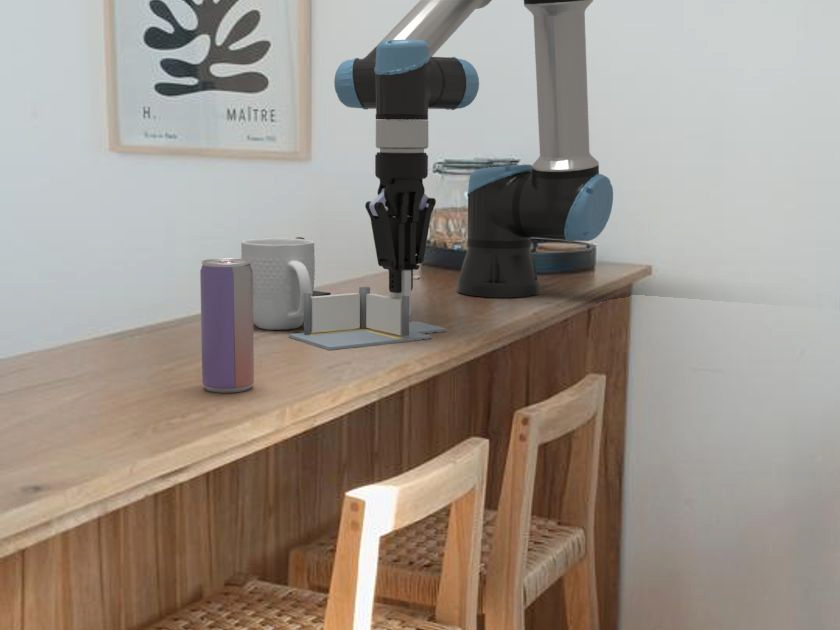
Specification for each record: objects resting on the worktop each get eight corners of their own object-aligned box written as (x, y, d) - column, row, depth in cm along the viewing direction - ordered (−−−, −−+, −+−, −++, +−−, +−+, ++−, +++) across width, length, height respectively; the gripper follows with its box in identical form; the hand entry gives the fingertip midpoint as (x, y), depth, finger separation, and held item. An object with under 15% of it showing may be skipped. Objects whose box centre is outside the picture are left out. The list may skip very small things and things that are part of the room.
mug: (340, 332, 179) (340, 245, 177) (273, 339, 173) (273, 248, 171) (293, 318, 191) (293, 236, 189) (229, 324, 185) (228, 239, 183)
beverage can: (209, 395, 138) (207, 264, 135) (197, 384, 143) (194, 259, 141) (260, 391, 140) (258, 262, 138) (246, 381, 145) (244, 257, 143)
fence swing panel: (411, 335, 173) (411, 296, 172) (404, 336, 172) (404, 297, 171) (372, 326, 180) (372, 289, 179) (366, 327, 179) (366, 290, 178)
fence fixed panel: (366, 330, 182) (366, 286, 181) (371, 331, 180) (372, 287, 179) (301, 336, 175) (301, 291, 174) (307, 338, 174) (307, 293, 173)
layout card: (416, 323, 188) (416, 320, 188) (461, 335, 178) (461, 332, 178) (288, 337, 175) (288, 334, 175) (329, 350, 165) (329, 346, 165)
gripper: (411, 149, 179) (410, 306, 183) (351, 151, 169) (351, 316, 173) (450, 150, 174) (448, 311, 178) (390, 152, 165) (390, 323, 169)
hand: (400, 314), depth 176 cm, fingers closed
